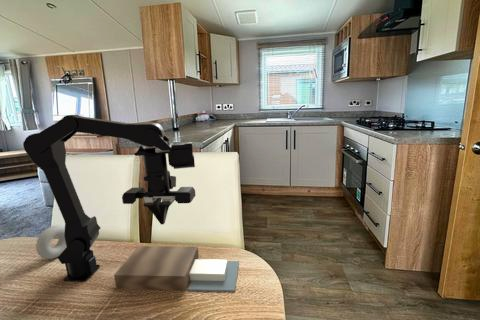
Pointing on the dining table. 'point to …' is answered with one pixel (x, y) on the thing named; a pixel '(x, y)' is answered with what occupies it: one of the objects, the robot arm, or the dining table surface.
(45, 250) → the donut
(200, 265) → the white rectangular block
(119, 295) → the dining table surface
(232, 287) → the mat
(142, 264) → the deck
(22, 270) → the dining table surface
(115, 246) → the dining table surface
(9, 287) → the dining table surface
